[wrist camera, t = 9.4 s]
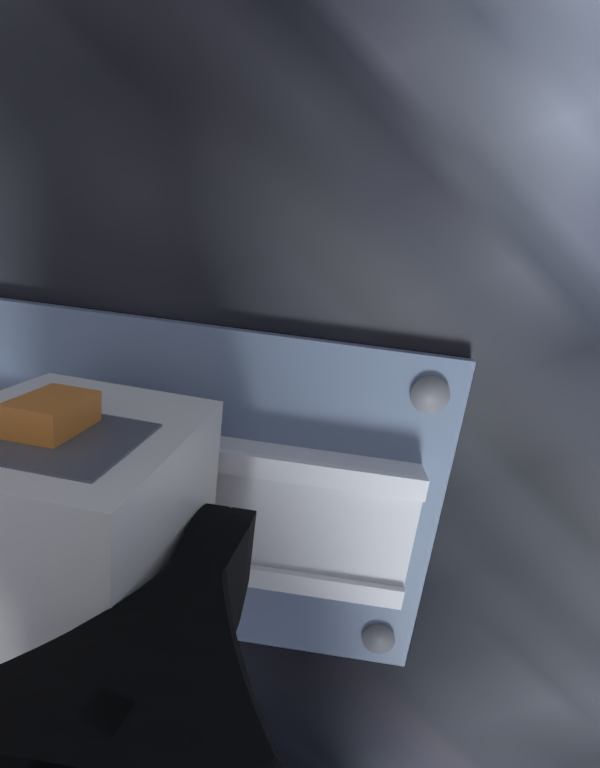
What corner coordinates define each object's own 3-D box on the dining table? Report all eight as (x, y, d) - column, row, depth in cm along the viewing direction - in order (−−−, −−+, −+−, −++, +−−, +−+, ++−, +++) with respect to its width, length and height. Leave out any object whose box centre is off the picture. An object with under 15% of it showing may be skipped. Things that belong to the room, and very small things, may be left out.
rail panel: (402, 655, 14) (420, 755, 11) (-264, 552, 15) (-404, 621, 12) (471, 358, 12) (517, 391, 9) (-348, 252, 12) (-554, 249, 10)
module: (206, 603, 12) (109, 820, 7) (57, 572, 13) (-128, 759, 8) (225, 375, 10) (111, 470, 6) (49, 347, 11) (-197, 413, 6)
